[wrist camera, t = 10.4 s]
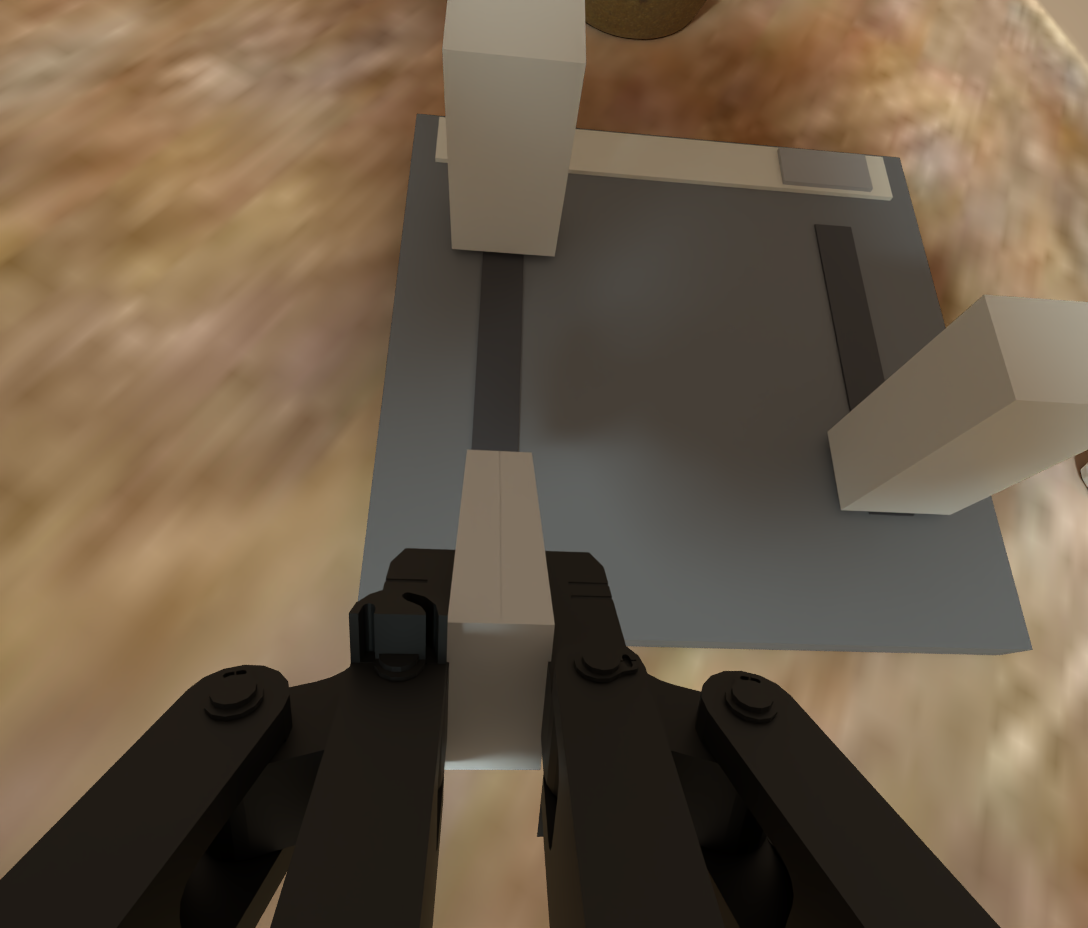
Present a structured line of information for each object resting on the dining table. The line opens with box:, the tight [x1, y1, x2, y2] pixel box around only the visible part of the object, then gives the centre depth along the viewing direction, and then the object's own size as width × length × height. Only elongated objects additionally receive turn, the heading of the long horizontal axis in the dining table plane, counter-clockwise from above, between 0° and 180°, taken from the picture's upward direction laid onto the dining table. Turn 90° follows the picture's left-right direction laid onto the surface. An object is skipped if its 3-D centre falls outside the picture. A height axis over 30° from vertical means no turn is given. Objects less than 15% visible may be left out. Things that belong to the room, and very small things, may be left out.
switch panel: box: [358, 114, 1033, 655], centre depth 26 cm, size 22×22×2 cm
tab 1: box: [442, 0, 586, 257], centre depth 22 cm, size 3×4×8 cm
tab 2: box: [827, 295, 1088, 515], centre depth 20 cm, size 3×4×8 cm
